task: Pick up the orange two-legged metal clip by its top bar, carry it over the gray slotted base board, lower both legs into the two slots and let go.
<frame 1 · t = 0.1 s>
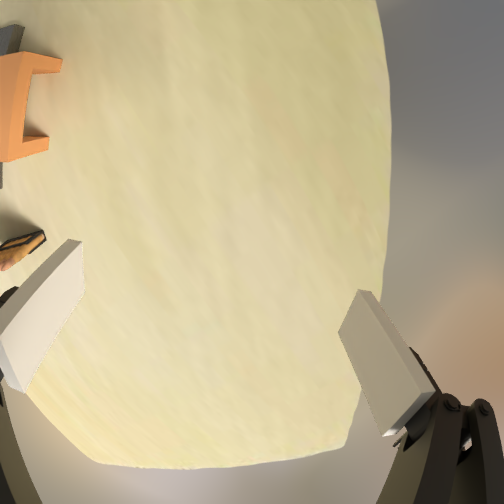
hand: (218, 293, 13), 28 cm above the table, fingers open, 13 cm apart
clip: (41, 104, 30), on the table
ammunition clip: (25, 239, 40), on the table
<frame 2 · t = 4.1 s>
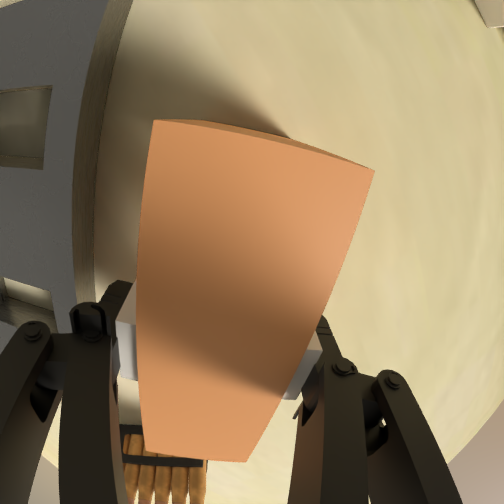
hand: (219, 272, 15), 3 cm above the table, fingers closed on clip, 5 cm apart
clip: (220, 245, 18), on the table, touching gripper
gray slotted base board: (26, 210, 15), on the table
ammunition clip: (161, 428, 27), on the table
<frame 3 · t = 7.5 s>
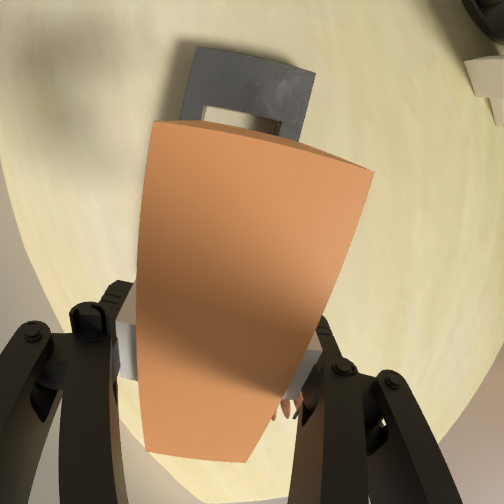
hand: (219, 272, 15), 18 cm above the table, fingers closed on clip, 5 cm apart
corner bracket: (494, 89, 26), on the table
clip: (220, 245, 18), point 15 cm above the table, touching gripper
gray slotted base board: (225, 187, 31), on the table
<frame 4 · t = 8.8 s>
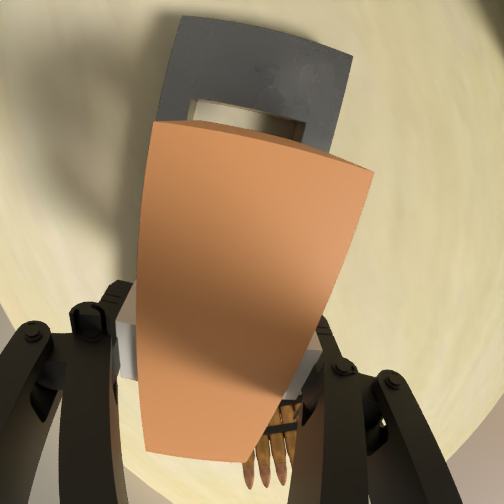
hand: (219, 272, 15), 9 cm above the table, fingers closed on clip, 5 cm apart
clip: (220, 245, 18), point 6 cm above the table, touching gripper
gray slotted base board: (224, 214, 23), on the table
ammunition clip: (277, 401, 34), on the table
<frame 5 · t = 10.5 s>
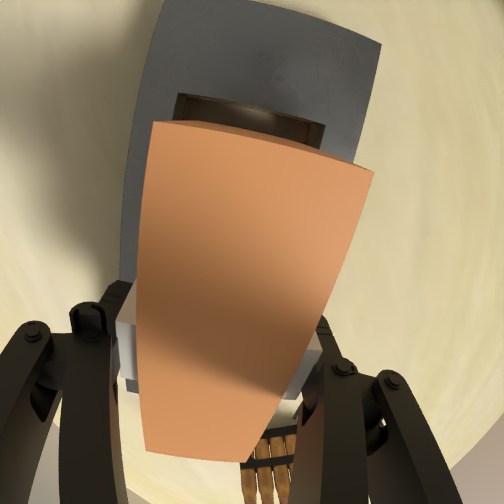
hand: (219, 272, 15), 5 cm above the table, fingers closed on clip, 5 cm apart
clip: (220, 245, 18), point 1 cm above the table, touching gripper
gray slotted base board: (221, 236, 19), on the table
ammunition clip: (281, 429, 30), on the table
when the fingers open (5 cm above the table, at t = 11.1 s): clip drops 1 cm, resting in gray slotted base board.
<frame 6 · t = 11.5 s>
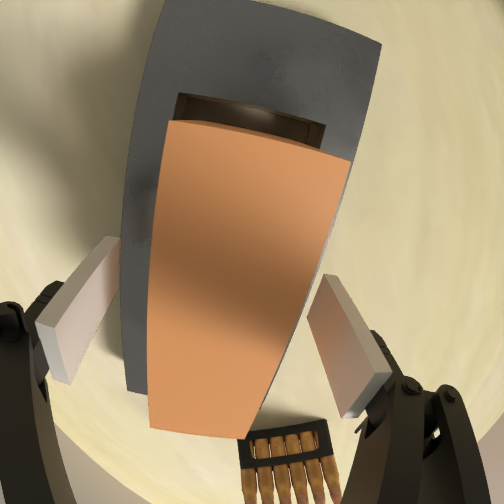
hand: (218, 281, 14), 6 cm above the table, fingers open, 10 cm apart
clip: (221, 236, 19), resting in gray slotted base board
gray slotted base board: (221, 235, 19), on the table
ammunition clip: (281, 429, 30), on the table
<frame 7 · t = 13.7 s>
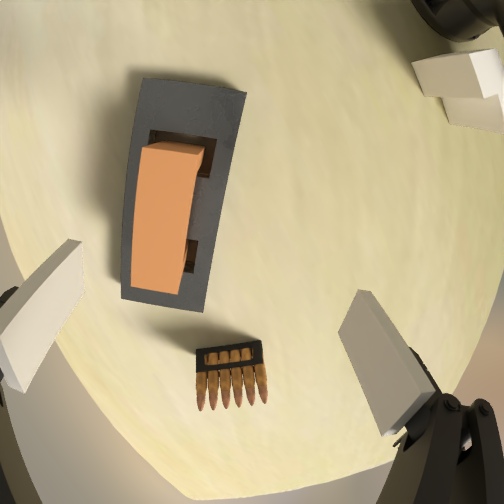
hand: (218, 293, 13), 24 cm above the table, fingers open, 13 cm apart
corner bracket: (447, 88, 31), on the table
clip: (175, 198, 35), resting in gray slotted base board
gray slotted base board: (175, 198, 35), on the table
ammunition clip: (229, 348, 46), on the table
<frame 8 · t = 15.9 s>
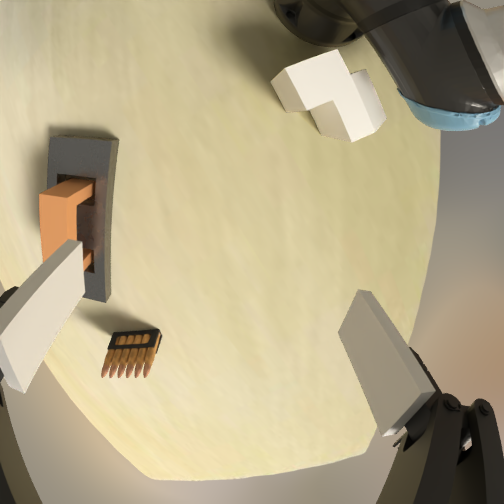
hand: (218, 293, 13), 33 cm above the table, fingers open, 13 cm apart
corner bracket: (319, 98, 39), on the table
clip: (82, 219, 44), resting in gray slotted base board
gray slotted base board: (82, 219, 44), on the table
ammunition clip: (137, 333, 55), on the table
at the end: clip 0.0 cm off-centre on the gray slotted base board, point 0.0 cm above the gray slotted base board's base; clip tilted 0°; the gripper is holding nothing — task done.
